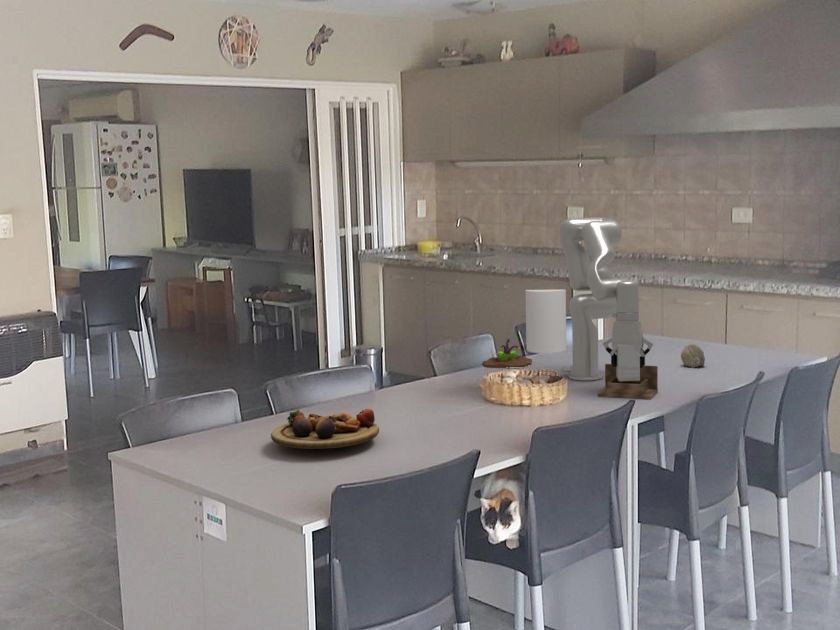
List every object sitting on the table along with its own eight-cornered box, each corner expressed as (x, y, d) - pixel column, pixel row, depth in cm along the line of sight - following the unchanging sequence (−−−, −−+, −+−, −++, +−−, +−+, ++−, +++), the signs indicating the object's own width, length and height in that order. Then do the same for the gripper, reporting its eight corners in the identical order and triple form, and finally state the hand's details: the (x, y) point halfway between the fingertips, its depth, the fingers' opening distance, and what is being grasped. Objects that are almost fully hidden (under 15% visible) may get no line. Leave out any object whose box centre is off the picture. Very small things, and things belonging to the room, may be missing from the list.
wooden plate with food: (380, 422, 308) (379, 397, 307) (377, 448, 276) (376, 419, 275) (278, 426, 307) (277, 400, 306) (264, 452, 276) (262, 423, 275)
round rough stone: (707, 370, 376) (707, 345, 375) (684, 371, 376) (684, 345, 375) (700, 366, 385) (700, 341, 384) (678, 367, 386) (678, 342, 384)
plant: (538, 363, 406) (537, 336, 405) (525, 371, 388) (524, 343, 387) (491, 361, 413) (491, 335, 412) (477, 369, 395) (476, 342, 394)
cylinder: (565, 357, 417) (564, 291, 414) (524, 356, 421) (523, 291, 417) (567, 350, 434) (566, 287, 431) (528, 350, 438) (527, 288, 434)
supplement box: (637, 377, 340) (637, 341, 338) (640, 381, 333) (640, 344, 331) (616, 377, 341) (615, 341, 339) (618, 381, 333) (617, 344, 332)
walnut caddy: (597, 396, 335) (597, 370, 334) (606, 389, 347) (606, 363, 346) (650, 399, 328) (650, 372, 327) (657, 391, 340) (657, 365, 338)
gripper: (599, 317, 334) (600, 368, 336) (651, 318, 327) (651, 369, 329) (604, 315, 341) (605, 364, 343) (655, 316, 334) (655, 366, 336)
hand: (628, 367), depth 336 cm, fingers closed on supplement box, 8 cm apart
